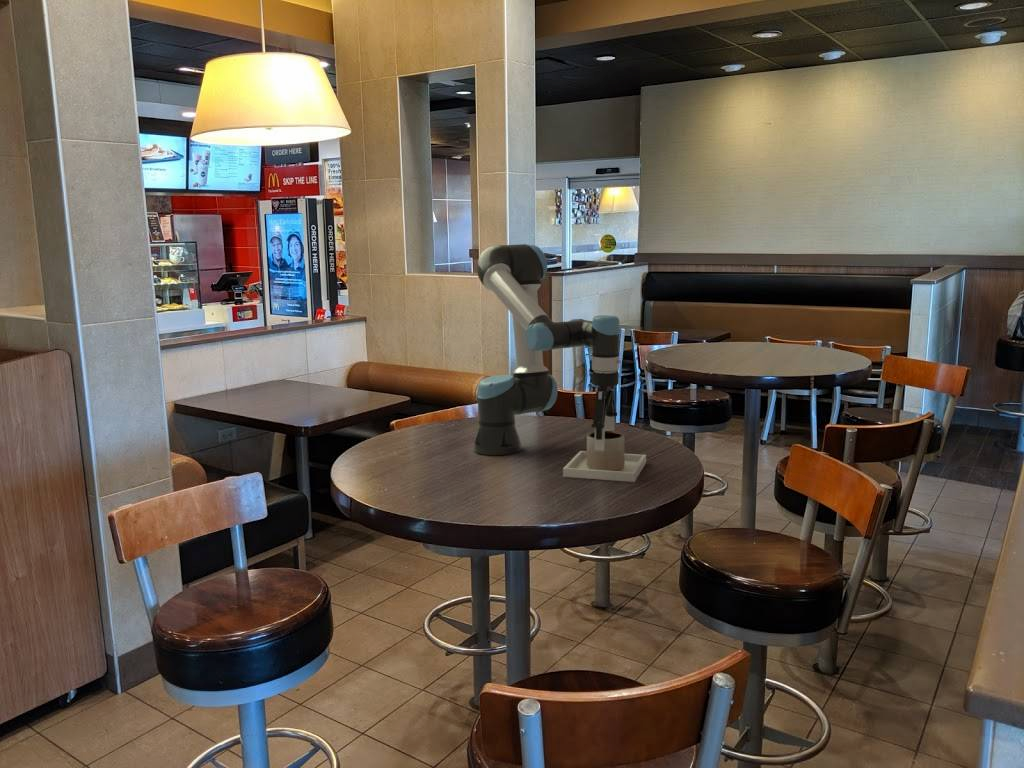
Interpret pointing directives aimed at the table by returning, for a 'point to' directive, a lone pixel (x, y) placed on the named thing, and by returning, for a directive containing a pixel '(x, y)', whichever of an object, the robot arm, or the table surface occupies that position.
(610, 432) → the planter
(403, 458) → the table surface
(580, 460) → the tray
